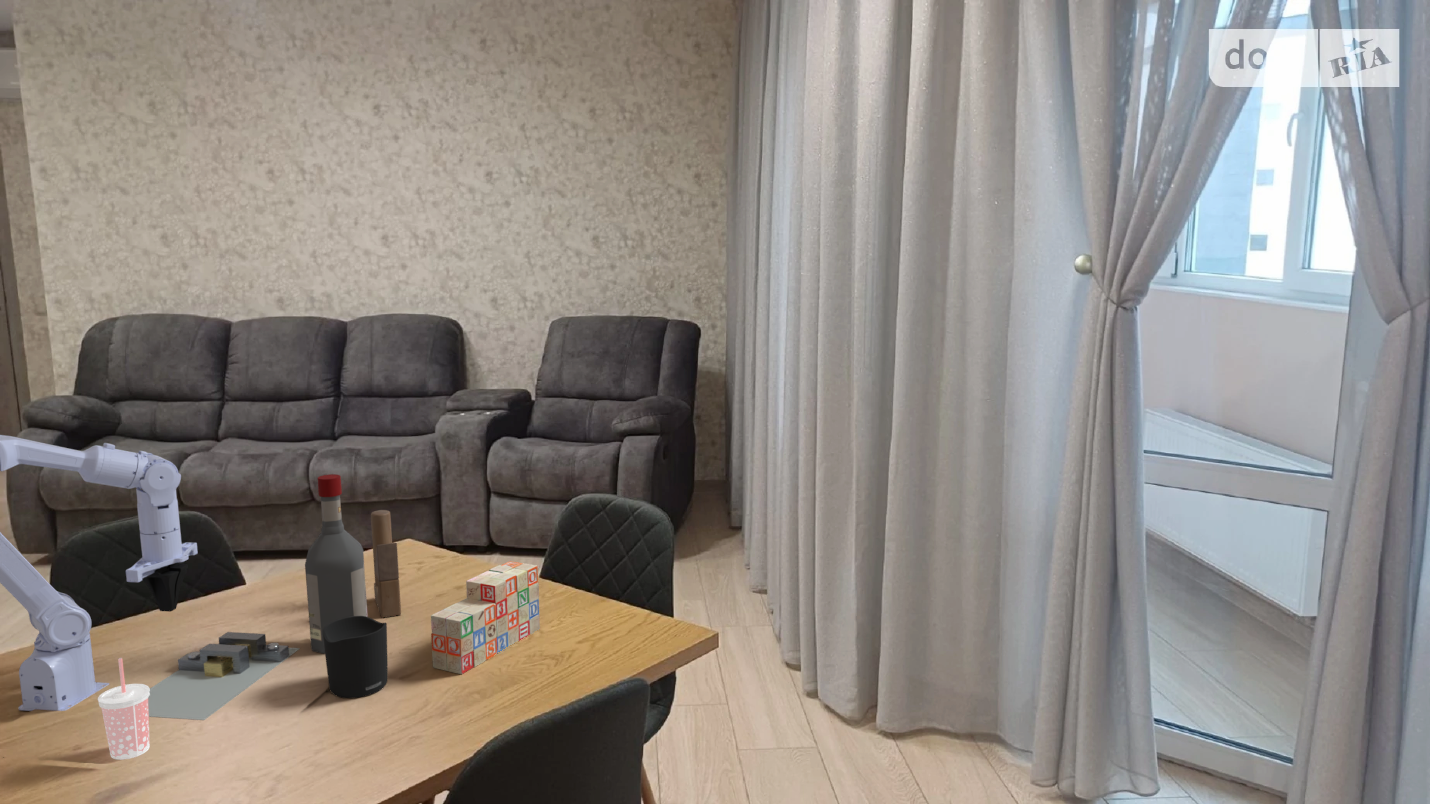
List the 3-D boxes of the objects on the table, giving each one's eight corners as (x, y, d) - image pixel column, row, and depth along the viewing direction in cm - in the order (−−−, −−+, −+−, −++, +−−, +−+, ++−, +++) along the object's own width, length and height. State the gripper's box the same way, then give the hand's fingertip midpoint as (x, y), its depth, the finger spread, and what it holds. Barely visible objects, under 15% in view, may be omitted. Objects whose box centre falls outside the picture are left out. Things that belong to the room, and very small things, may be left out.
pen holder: (324, 703, 154) (319, 641, 152) (330, 677, 163) (325, 618, 161) (389, 696, 156) (385, 634, 154) (391, 671, 165) (387, 612, 163)
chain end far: (280, 662, 167) (279, 641, 167) (220, 658, 169) (218, 637, 168) (289, 656, 170) (287, 635, 169) (229, 652, 171) (227, 631, 170)
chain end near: (240, 673, 163) (238, 652, 162) (178, 670, 164) (176, 648, 164) (249, 667, 165) (247, 645, 165) (188, 663, 167) (186, 642, 166)
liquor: (369, 632, 181) (358, 468, 176) (368, 651, 173) (357, 480, 168) (314, 638, 178) (302, 472, 173) (310, 658, 170) (297, 485, 165)
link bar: (222, 677, 162) (221, 664, 161) (205, 676, 162) (203, 663, 162) (262, 649, 172) (260, 637, 172) (245, 648, 173) (244, 636, 172)
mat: (204, 723, 147) (204, 719, 147) (111, 717, 150) (110, 713, 149) (300, 651, 173) (300, 648, 173) (219, 647, 175) (219, 643, 175)
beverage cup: (145, 739, 143) (135, 645, 141) (163, 753, 139) (153, 657, 137) (97, 756, 138) (86, 659, 136) (115, 771, 135) (104, 672, 132)
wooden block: (381, 618, 188) (375, 525, 185) (374, 600, 197) (368, 510, 194) (401, 615, 189) (396, 522, 186) (394, 597, 199) (388, 508, 196)
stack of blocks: (462, 676, 163) (458, 603, 161) (432, 669, 166) (428, 597, 164) (540, 629, 182) (538, 564, 180) (512, 624, 185) (509, 559, 183)
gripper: (152, 544, 155) (160, 627, 158) (211, 518, 170) (218, 595, 172) (110, 542, 156) (119, 625, 159) (172, 516, 171) (179, 593, 173)
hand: (168, 609), depth 165 cm, fingers closed
